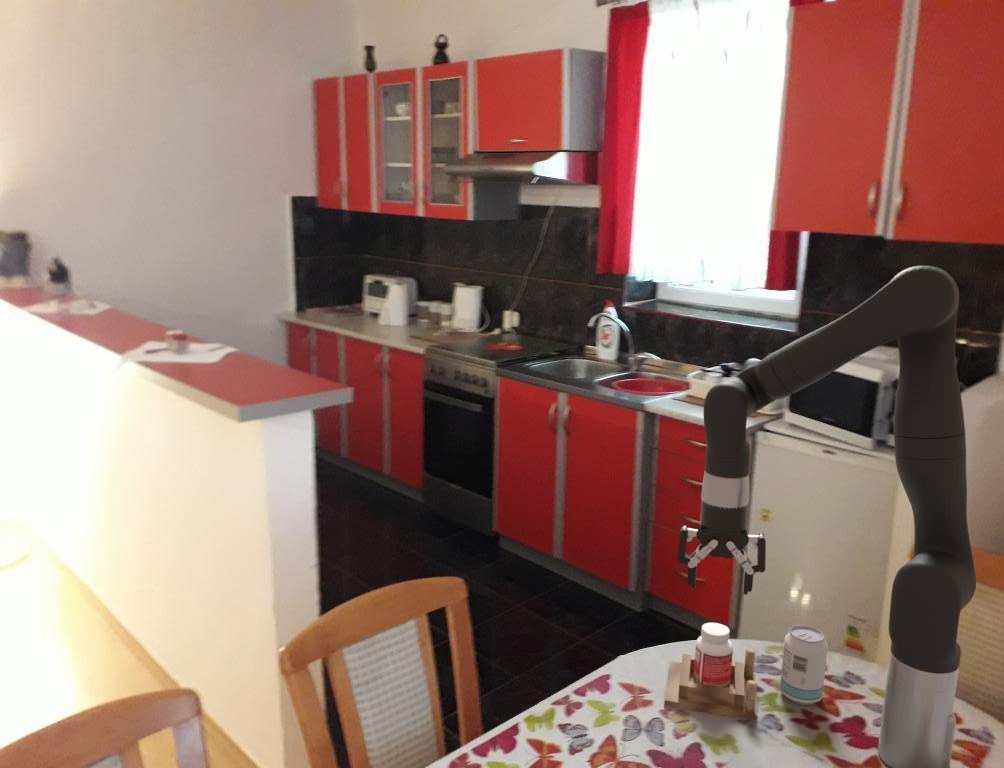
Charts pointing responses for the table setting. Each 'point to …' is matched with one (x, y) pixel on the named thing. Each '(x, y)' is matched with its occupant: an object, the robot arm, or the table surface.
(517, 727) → the table surface
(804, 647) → the beverage can
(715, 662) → the pill bottle
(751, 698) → the holder
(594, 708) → the table surface
